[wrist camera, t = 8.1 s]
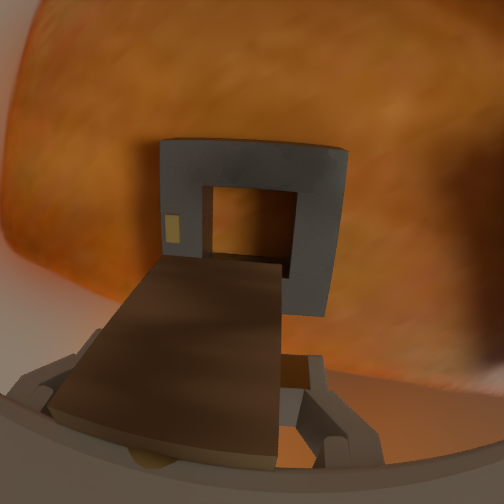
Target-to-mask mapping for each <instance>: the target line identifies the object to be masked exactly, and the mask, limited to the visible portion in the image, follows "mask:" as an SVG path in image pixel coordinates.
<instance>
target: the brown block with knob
mask: <svg viewBox="0 0 504 504" xmlns="http://www.w3.org/2000/svg"><path fill="white" fill-rule="evenodd" d="M281 318H282V265H281V264H269V263H256V262H244V261H232V260H220V259H208V258H197V257H185V256H173V255H162V257H161V258H160V259H159V260H158V261H157V263H156V264H155V265H154V266H153V267H152V269H151V270H150V271H149V272H148V273H147V275H146V276H145V277H144V278H143V279H142V281H141V282H140V283H139V284H138V285H137V287H136V288H135V289H134V290H133V292H132V293H131V294H130V295H129V297H128V298H127V299H126V300H125V301H124V303H123V304H122V305H121V307H120V308H119V309H118V310H117V312H116V313H115V314H114V315H113V317H112V318H111V319H110V320H109V322H108V323H107V324H106V326H105V327H104V328H103V329H102V331H101V332H100V333H99V335H98V336H97V337H96V339H95V340H94V341H93V343H92V344H91V345H90V347H89V348H88V349H87V351H86V352H85V353H84V355H83V356H82V357H81V359H80V360H79V361H78V363H77V364H76V365H75V367H74V368H73V369H72V371H71V372H70V374H69V375H68V376H67V378H66V379H65V381H64V382H63V383H62V385H61V386H60V388H59V389H58V390H57V392H56V393H55V395H54V396H53V398H52V399H51V401H50V402H49V403H48V405H47V407H48V409H49V410H50V412H51V414H52V416H53V418H54V419H55V421H56V423H58V424H60V425H63V426H65V427H68V428H71V429H73V430H76V431H79V432H81V433H84V434H87V435H90V436H93V437H96V438H99V439H102V440H105V441H108V442H111V443H115V444H118V445H122V446H125V447H127V448H128V451H129V453H130V455H131V456H132V458H133V460H134V461H135V463H137V464H138V465H140V466H142V467H144V468H145V469H160V468H163V467H165V466H168V465H170V464H173V463H175V462H176V461H178V460H185V461H190V462H196V463H202V464H208V465H215V466H222V467H230V468H239V469H249V470H261V471H274V470H275V465H276V461H277V457H278V436H279V408H280V373H281Z"/></svg>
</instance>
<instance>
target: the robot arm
mask: <svg viewBox="0 0 504 504" xmlns="http://www.w3.org/2000/svg"><path fill="white" fill-rule="evenodd" d="M101 331H102V329H100V328H99V329H97V330H96V331H95V332H94V333H93V334H92V335H91V337H90V338H89V339H88V341H87V342H86V343H85V345H84V346H83V347H82V348H81V349H80V351H79V352H78V353H77V355H76V354H71V355H69V356H67V357H65V358H62V359H60V360H58V361H55V362H53V363H50V364H48V365H46V366H43V367H41V368H39V369H36V370H34V371H32V372H29V373H27V374H24V375H23V376H21V377H20V379H19V380H18V381H17V382H16V383H15V385H14V386H13V387H12V388H11V390H10V391H9V392H8V393H7V395H6V396H5V395H3V394H1V393H0V504H504V440H502V441H498V442H495V443H492V444H488V445H485V446H481V447H478V448H474V449H470V450H466V451H462V452H457V453H453V454H449V455H444V456H439V457H434V458H428V459H422V460H416V461H409V462H402V463H394V464H386V465H385V463H384V457H383V453H382V448H381V444H380V439H379V435H378V433H377V432H376V431H375V430H374V429H373V428H371V427H370V426H369V425H368V424H367V423H366V422H365V421H364V420H363V419H362V418H361V417H360V416H359V415H358V414H356V413H355V412H354V411H353V410H352V409H351V408H350V407H349V406H348V405H347V404H346V403H345V402H344V401H343V400H342V399H341V398H339V396H338V395H337V394H335V393H334V392H333V391H331V390H328V387H327V380H326V373H325V366H324V359H323V356H322V355H307V356H306V355H291V354H281V373H280V408H279V425H282V426H294V427H296V429H297V430H298V432H299V433H300V435H301V436H302V438H303V439H304V441H305V442H306V443H307V445H308V446H309V448H310V449H311V450H312V452H313V453H314V455H315V456H316V457H317V458H316V460H315V463H314V465H313V467H312V468H279V467H275V470H274V471H261V470H249V469H239V468H230V467H222V466H215V465H208V464H202V463H196V462H190V461H185V460H178V461H176V462H175V463H173V464H170V465H168V466H165V467H163V468H160V469H145V468H144V467H142V466H140V465H138V464H137V463H135V461H134V460H133V458H132V456H131V455H130V453H129V451H128V448H127V447H125V446H122V445H118V444H115V443H111V442H108V441H105V440H102V439H99V438H96V437H93V436H90V435H87V434H84V433H81V432H79V431H76V430H73V429H71V428H68V427H65V426H63V425H60V424H58V423H56V421H55V419H54V418H53V416H52V414H51V412H50V410H49V409H48V407H47V405H48V403H49V402H50V401H51V399H52V398H53V396H54V395H55V393H56V392H57V390H58V389H59V388H60V386H61V385H62V383H63V382H64V381H65V379H66V378H67V376H68V375H69V374H70V372H71V371H72V369H73V368H74V367H75V365H76V364H77V363H78V361H79V360H80V359H81V357H82V356H83V355H84V353H85V352H86V351H87V349H88V348H89V347H90V345H91V344H92V343H93V341H94V340H95V339H96V337H97V336H98V335H99V333H100V332H101Z"/></svg>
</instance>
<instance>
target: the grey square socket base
mask: <svg viewBox="0 0 504 504" xmlns="http://www.w3.org/2000/svg"><path fill="white" fill-rule="evenodd" d="M347 161H348V151H347V150H345V149H342V148H340V147H332V146H324V145H314V144H304V143H293V142H281V141H267V140H250V139H227V138H172V139H165V140H160V210H161V234H162V252H163V255H173V256H185V257H197V258H208V259H220V260H232V261H244V262H256V263H269V264H281V265H282V314H289V315H302V316H317V317H324V315H325V310H326V304H327V299H328V294H329V288H330V283H331V277H332V271H333V265H334V259H335V253H336V247H337V240H338V233H339V226H340V219H341V212H342V204H343V196H344V188H345V180H346V171H347ZM213 186H219V187H237V188H252V189H266V190H279V191H291V192H295V196H294V207H293V218H292V229H291V239H290V249H289V259H283V258H271V257H259V256H247V255H235V254H223V253H212V224H213Z"/></svg>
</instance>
